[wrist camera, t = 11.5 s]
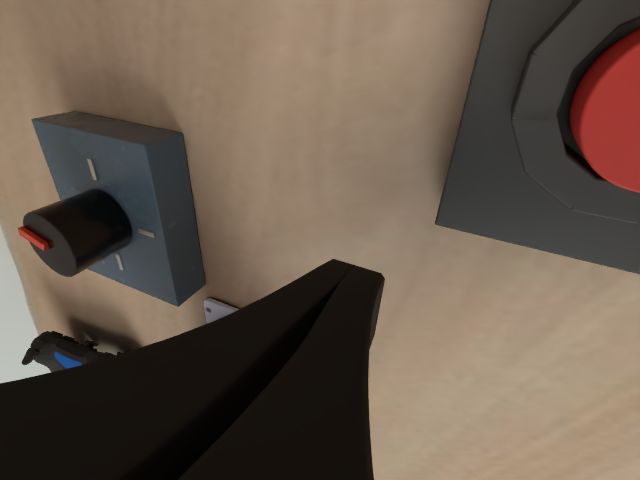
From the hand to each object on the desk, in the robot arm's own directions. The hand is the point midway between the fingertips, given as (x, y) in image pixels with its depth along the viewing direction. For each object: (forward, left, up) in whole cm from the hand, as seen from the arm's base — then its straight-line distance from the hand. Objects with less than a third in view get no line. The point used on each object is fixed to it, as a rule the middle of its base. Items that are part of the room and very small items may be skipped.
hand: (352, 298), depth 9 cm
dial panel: (-7, +20, -10) cm, 23 cm away
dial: (-7, +20, -7) cm, 22 cm away
